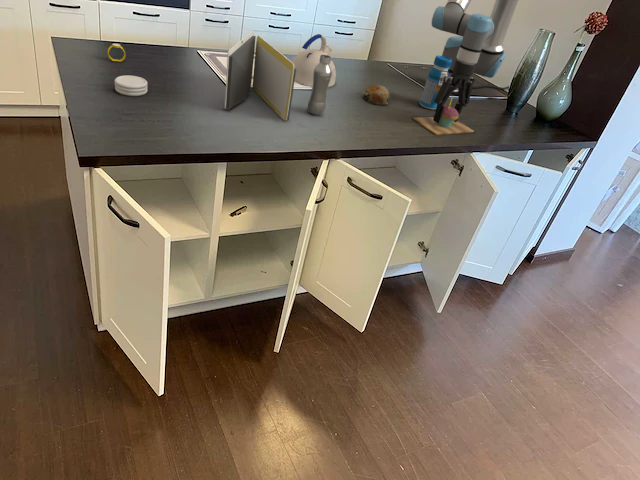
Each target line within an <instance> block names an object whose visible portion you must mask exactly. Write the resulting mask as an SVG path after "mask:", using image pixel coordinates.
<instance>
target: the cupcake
mask: <svg viewBox="0 0 640 480" xmlns="http://www.w3.org/2000/svg"><path fill="white" fill-rule="evenodd" d="M453 98H454V94H451V96H450V100H449V102H448V105H443V106H444V110H443V113H442V116H441V119H440V122H439V123H438V124H439V125H441V126H444V127H450V125H451V124H452V123H453V122H454V121H455V120H456V119H457V120H458V119H459V117H458V116H460V114H459V113H458V111H457V110H456V109H455V107H453V106H451V105H452V101H453Z"/></svg>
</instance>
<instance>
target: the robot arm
mask: <svg viewBox="0 0 640 480" xmlns="http://www.w3.org/2000/svg"><path fill="white" fill-rule="evenodd" d="M471 2H472V0H447V2H446V4H444V5H445V6H441V5H440V6H438V7H436V8H435V10H434V11H433V14H432V17H431V27H432V28H434V29H436V30H439V31H440V32H441V31H442V32H445V33H449V34H453V35H454V36H450V37H448V38H447V39H446V42H445V45H444V46H443V51H442V54H441V56H445V57H448V58H450V59H452V63H451V66H450V68H449V69H448V73H449V77H447V76H445V77H444V80H443V83H442V86H441V88H440V90H439V92H438V94H437V96H436V98H435V100H434V102H435V103H437V107H436V109H435V111H434V116H433V117H434V119H433V121H435V122H437V123H439V122H440V119H441V116H442V113H443V110H444V106H445V104H446V102H447V101H448V99H449V98H451V96H452V95H457V97H458V98H457V99H458V101H457V103H455V105H454V108H455V109H456V110H457V111H458V113H459V116H460V115H461V113H462V110H463V107H466V106H467V105H468V104H469V103H470V99H471V94H472V90H473V89H480V88H481V89H482V88H493V89H497V90H507V89H509V86H510V85H508V86H505V87H499V86H495V85H490V84H483V85H475V86H473V85H474V83H475V81H476V78H474V77H473V74H475V75H479V76H481V77H483V78H484V77H485V78H488V79H493V78H494V77H495V76H496V74H497V73H498V71H499V69H500V67H501V65H502V64H503V62H504V60H505V58H506V56H507V53H506V52H505V45H504V41H505V38H506V35H507V32H508V29H509V27H510V25H511V21H512V19H513V16H514V14H515V10H516V8H517V5H518V2H519V0H494V4H493V6H492V10H491V12H490V13H491V14H490V16H488V15H485V14H480V13H472V14H468V13H467V12H466V11H467V9H468V7H469V5H470V4H471ZM459 116H458V118H459ZM457 121H458V119H456V120H455V121H454V122H457Z"/></svg>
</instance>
